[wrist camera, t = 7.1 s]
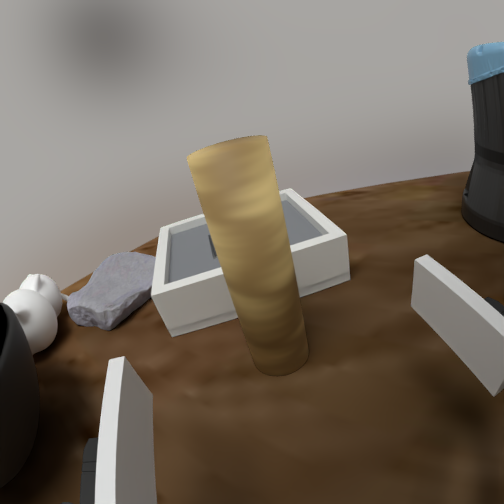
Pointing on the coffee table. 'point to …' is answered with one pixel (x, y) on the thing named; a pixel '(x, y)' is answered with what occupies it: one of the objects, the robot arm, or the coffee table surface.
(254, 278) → the peg
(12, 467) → the coal bowl
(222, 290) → the hole box
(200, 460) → the coffee table surface
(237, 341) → the coffee table surface
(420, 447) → the coffee table surface
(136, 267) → the stone block
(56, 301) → the cat figurine
